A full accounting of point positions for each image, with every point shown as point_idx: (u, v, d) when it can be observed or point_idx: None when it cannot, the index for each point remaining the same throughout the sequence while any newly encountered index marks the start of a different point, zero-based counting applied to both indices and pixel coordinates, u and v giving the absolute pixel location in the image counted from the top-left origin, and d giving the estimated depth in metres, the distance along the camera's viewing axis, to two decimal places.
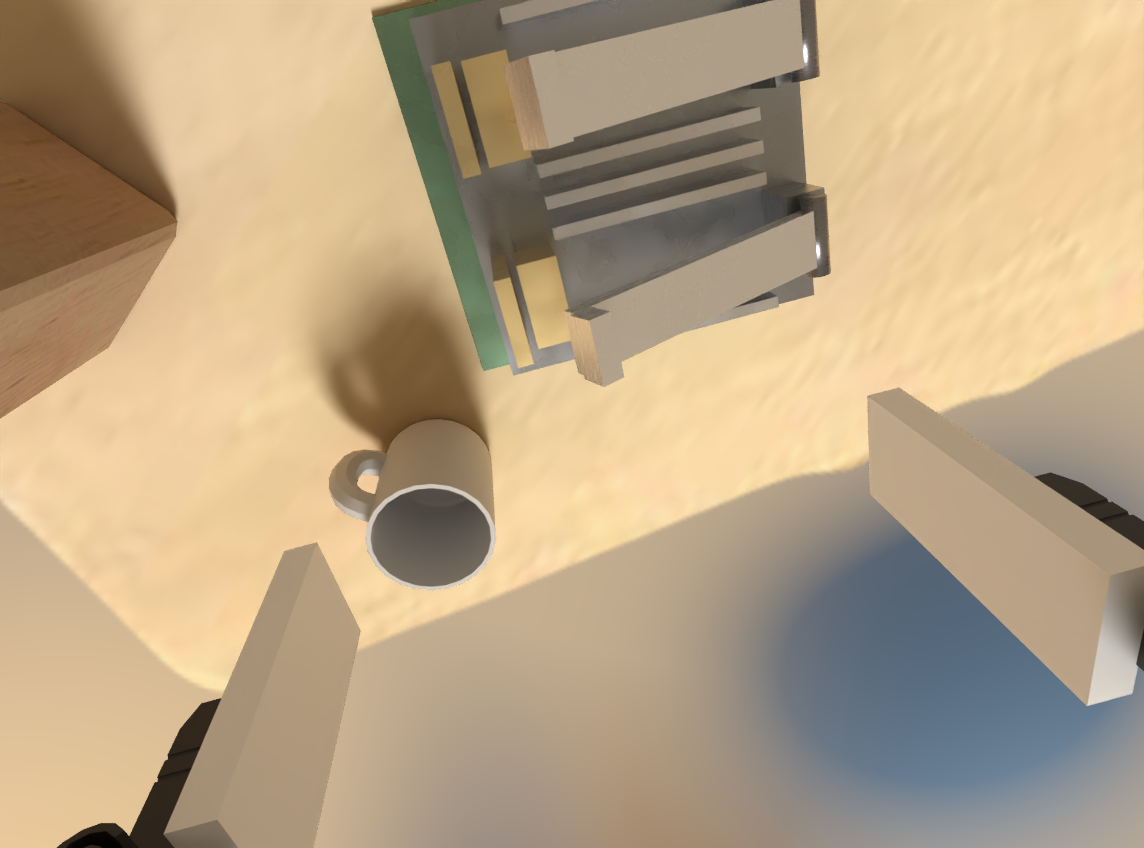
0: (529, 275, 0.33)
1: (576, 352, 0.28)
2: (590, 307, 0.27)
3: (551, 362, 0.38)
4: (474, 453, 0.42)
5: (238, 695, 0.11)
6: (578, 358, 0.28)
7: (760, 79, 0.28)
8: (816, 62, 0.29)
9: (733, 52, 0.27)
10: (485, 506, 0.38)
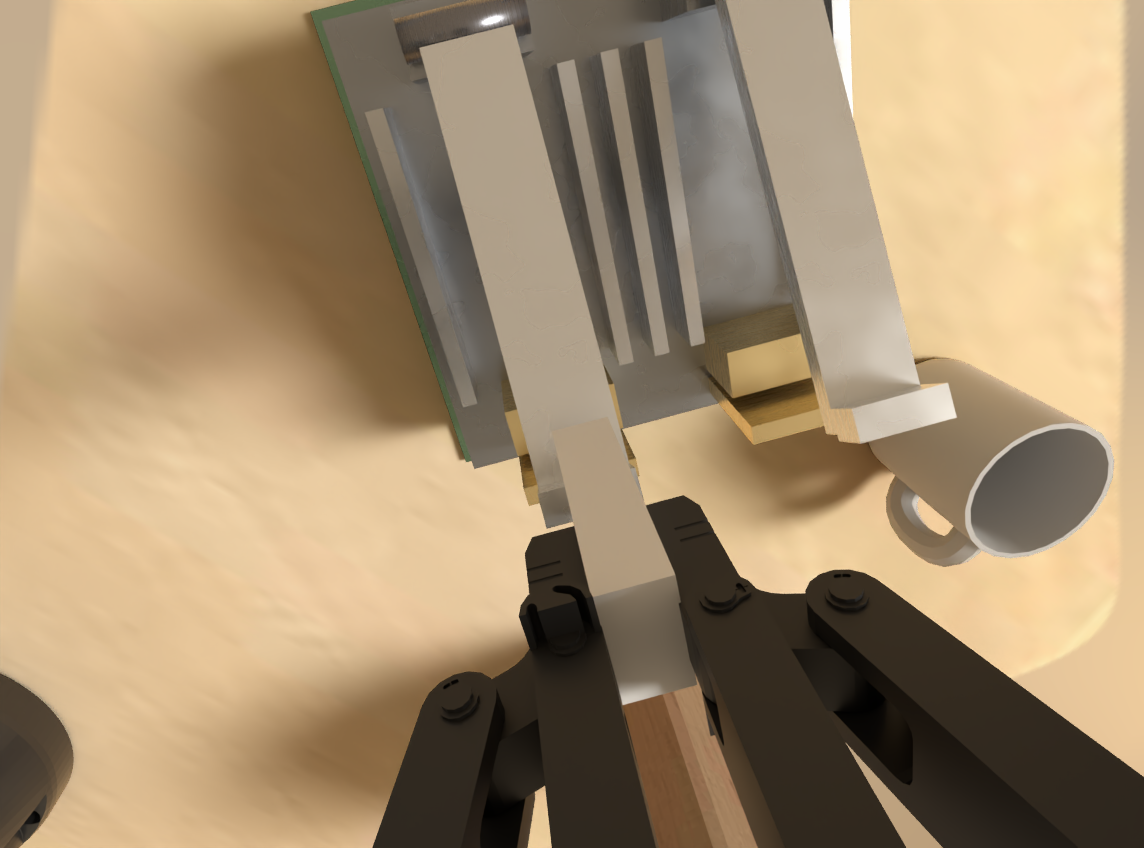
0: (746, 382, 0.27)
1: None
2: (832, 410, 0.20)
3: None
4: None
5: (588, 518, 0.13)
6: None
7: (535, 116, 0.20)
8: (504, 1, 0.19)
9: (505, 172, 0.20)
10: (1020, 432, 0.29)
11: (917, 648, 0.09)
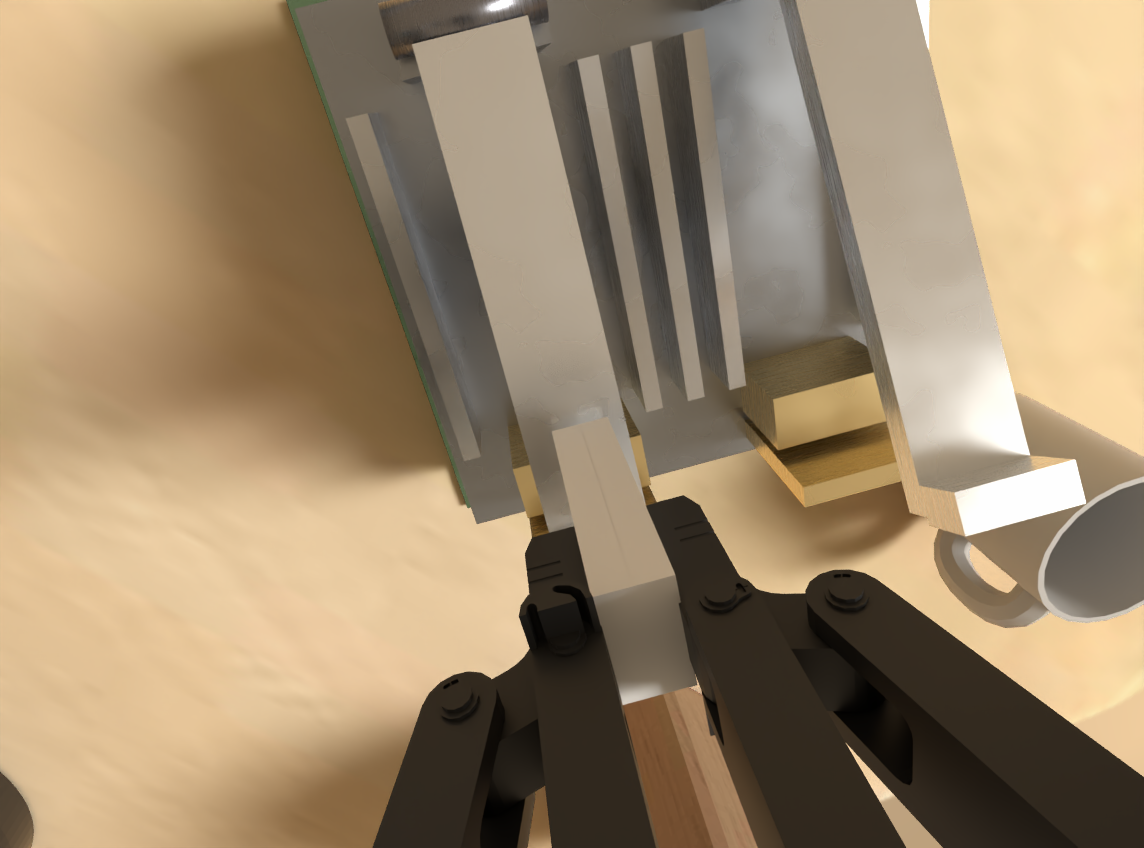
0: (794, 432, 0.23)
1: None
2: (922, 488, 0.16)
3: None
4: None
5: (588, 518, 0.13)
6: None
7: (554, 135, 0.16)
8: None
9: (519, 204, 0.17)
10: (1105, 485, 0.26)
11: (917, 648, 0.09)
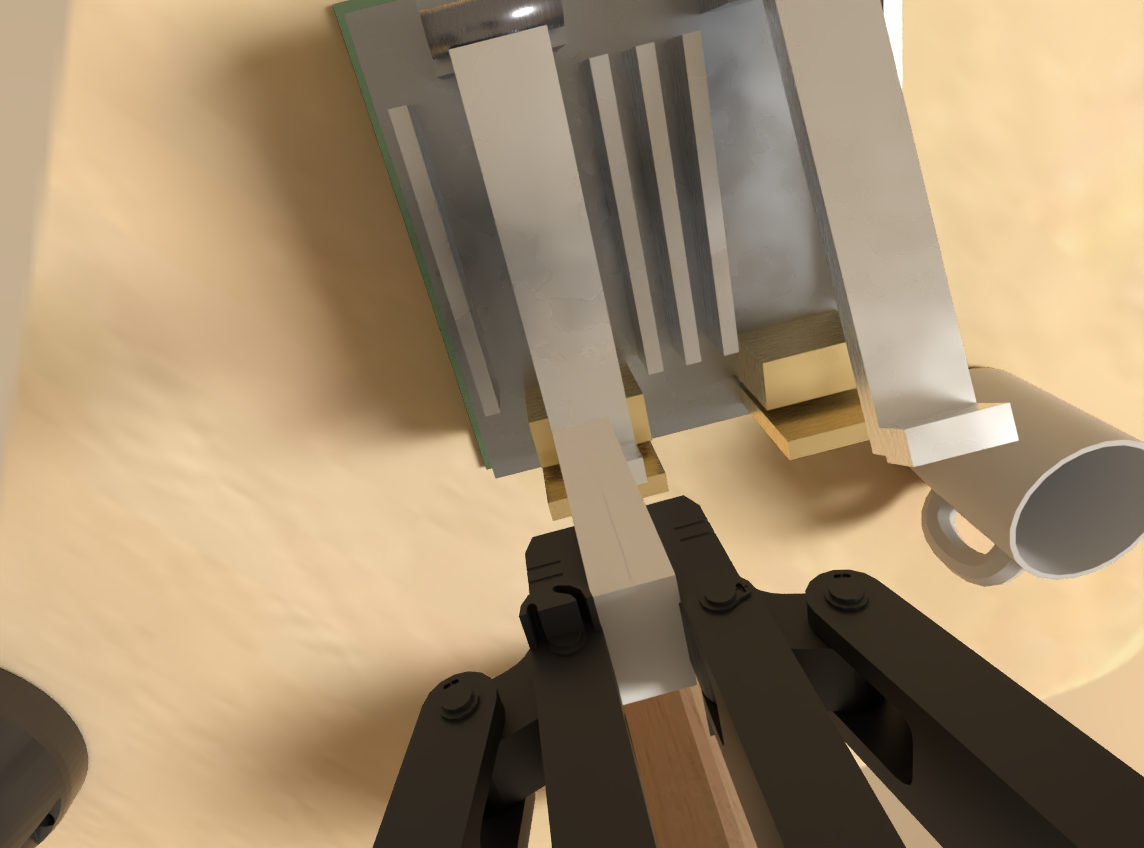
0: (781, 394, 0.26)
1: None
2: (881, 430, 0.19)
3: None
4: None
5: (588, 518, 0.13)
6: None
7: (566, 128, 0.20)
8: (539, 0, 0.18)
9: (536, 187, 0.20)
10: (1071, 449, 0.28)
11: (917, 648, 0.09)
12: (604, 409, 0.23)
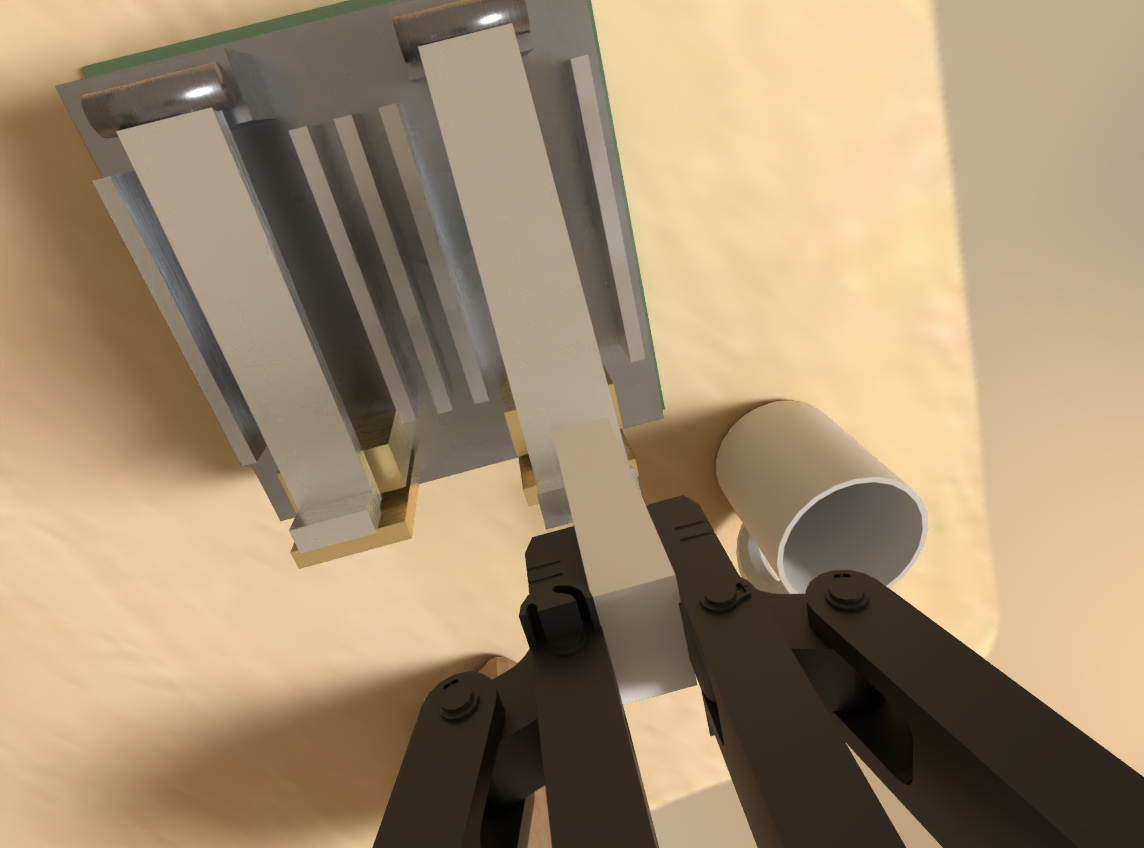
0: None
1: None
2: (538, 490, 0.20)
3: (652, 373, 0.30)
4: (761, 446, 0.34)
5: (588, 518, 0.13)
6: None
7: (249, 202, 0.20)
8: (197, 85, 0.19)
9: (228, 257, 0.21)
10: (825, 486, 0.29)
11: (917, 648, 0.09)
12: (336, 462, 0.24)
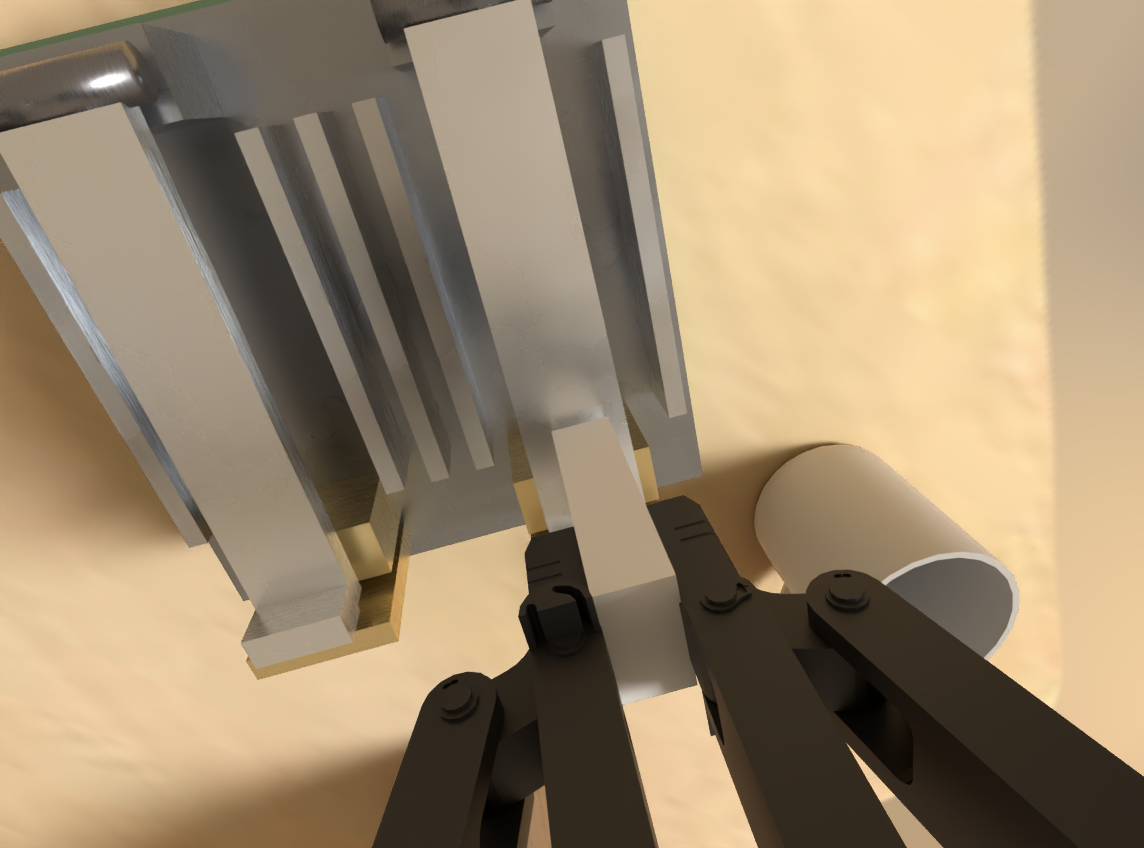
0: (543, 516, 0.22)
1: None
2: None
3: (690, 424, 0.25)
4: (813, 502, 0.29)
5: (587, 518, 0.13)
6: None
7: (177, 229, 0.15)
8: (98, 72, 0.14)
9: (152, 300, 0.16)
10: (900, 562, 0.24)
11: (918, 648, 0.09)
12: (301, 552, 0.19)
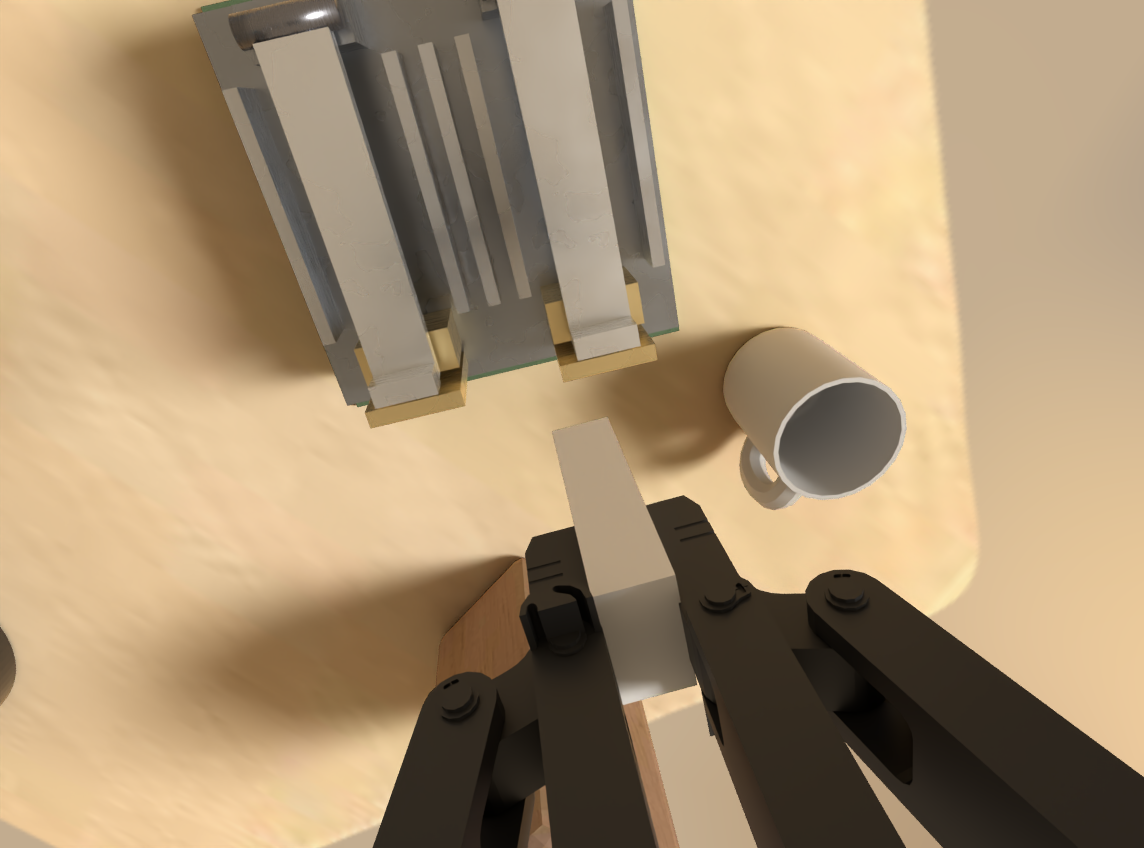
0: (564, 331, 0.31)
1: None
2: (570, 332, 0.30)
3: (669, 285, 0.34)
4: (763, 361, 0.39)
5: (588, 518, 0.13)
6: None
7: (351, 107, 0.25)
8: (318, 8, 0.24)
9: (332, 152, 0.26)
10: (817, 384, 0.34)
11: (917, 648, 0.09)
12: (406, 335, 0.29)
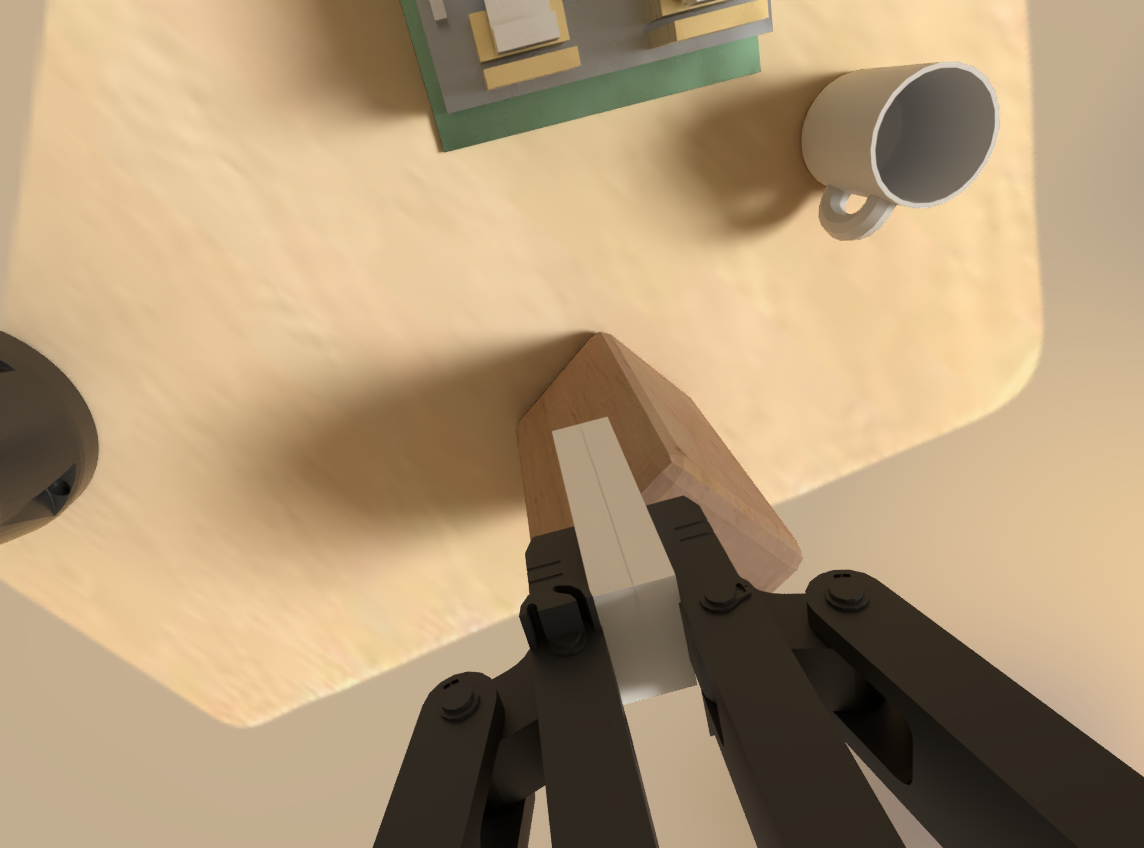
0: (673, 0, 0.32)
1: None
2: None
3: None
4: (849, 86, 0.39)
5: (588, 518, 0.13)
6: None
7: None
8: None
9: None
10: (915, 71, 0.34)
11: (917, 648, 0.09)
12: None
